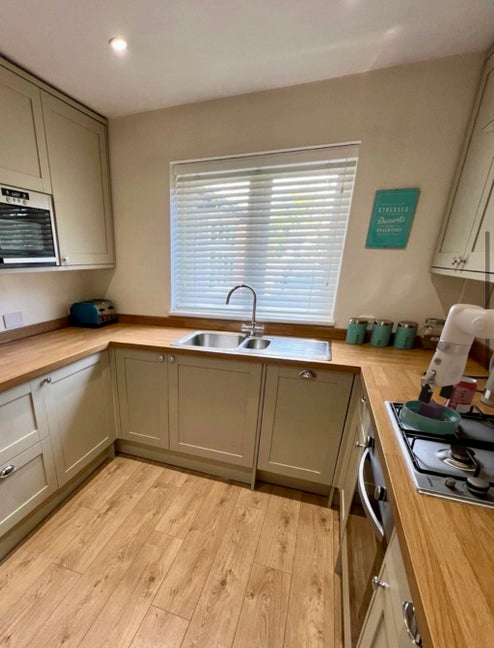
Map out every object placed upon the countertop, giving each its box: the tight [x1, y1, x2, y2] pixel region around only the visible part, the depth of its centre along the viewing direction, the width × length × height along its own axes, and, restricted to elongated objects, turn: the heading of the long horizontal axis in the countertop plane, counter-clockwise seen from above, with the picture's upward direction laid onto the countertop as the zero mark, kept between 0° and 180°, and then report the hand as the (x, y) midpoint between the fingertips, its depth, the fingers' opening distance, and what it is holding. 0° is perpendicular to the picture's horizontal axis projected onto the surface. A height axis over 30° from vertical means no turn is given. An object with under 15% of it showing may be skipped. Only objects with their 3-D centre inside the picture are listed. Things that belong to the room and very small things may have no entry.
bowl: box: [399, 399, 462, 436], centre depth 106 cm, size 15×15×5 cm
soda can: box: [443, 375, 478, 415], centre depth 114 cm, size 7×7×12 cm
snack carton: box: [418, 400, 445, 420], centre depth 105 cm, size 4×4×6 cm
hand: (434, 399), depth 104 cm, fingers open, 9 cm apart
